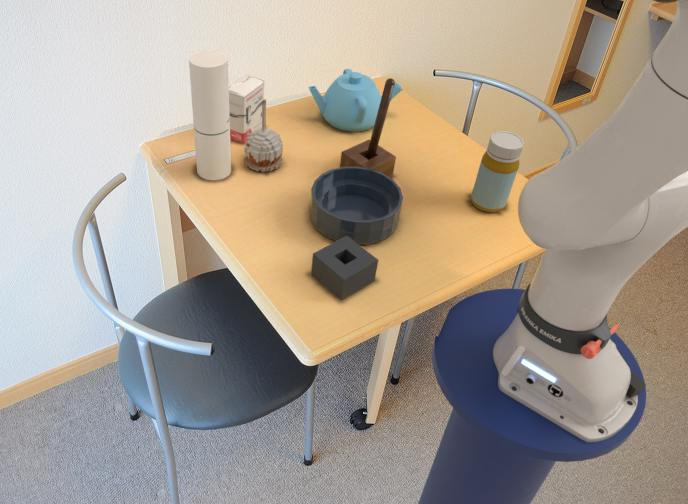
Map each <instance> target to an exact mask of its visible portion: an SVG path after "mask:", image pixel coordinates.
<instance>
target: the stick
mask: <svg viewBox="0 0 688 504" xmlns="http://www.w3.org/2000/svg"><path fill="white" fill-rule="evenodd" d="M395 82H396V81H395V80H394V78H391V77H389V78H387V79H386V80H385V83H384V86H383V90H382V94H381V96H382V97H381V101H380V105H379V109H378V113H377V116H376V120H375V124H374V126H373V127H372V132H371V136H370V139H369V140H370V143H369V147H368V151H367V154H366V158H367V159H368V160H369V159H371V158H373V157H375V154H376V151H377V147H378V145H379V144H380V140H381V136H382V133H383V130H384V125H385V122H386V118H387V114H388V111H389V108H390V103H391V101H392V100H391V96H392V93H393V89H394V85H395ZM390 100H391V101H390Z"/></svg>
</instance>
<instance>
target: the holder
mask: <svg viewBox="0 0 688 504" xmlns="http://www.w3.org/2000/svg"><path fill="white" fill-rule="evenodd" d="M369 143H370V139H367V140H365V141H363V142H360V143H358V144H356V145H354V146H351V147H349V148H347V149H344V150H342V151H341V152H340V153H341V154H340V161H339V162H340V164H339V168H340V167H364V168H369V169H373V170H376V171H378V172H381V173H384V174H385V175H387V176H388V177H390V178H392V177H393V176H394V171H395V166H396V165H395V164H396V159H397V156H396V155H394V154H393V153H391V152H389V151H388V150H387V149H385V148H383V147H382V146H380V145H379V144H378V147H377V151H376V154H375V157H373V158H371V159H369V160H368V159H367V158H366V154H367V151H368V147H369Z"/></svg>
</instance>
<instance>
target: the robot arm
mask: <svg viewBox="0 0 688 504" xmlns="http://www.w3.org/2000/svg"><path fill="white" fill-rule="evenodd" d="M652 1H653V2H656V3H662V4H668V3H669V4H671V3H675V2H676V10H675V11H676V12H675V14H674V15H675V16H674V18H673V20H672V23H671V24H670V26H669V28H668V30H667V32H666V33H665V35H664V36H663V37H662V39H661V41H660V42H659V44H658V45H657V47H656V49H655V50H654V51H653V53H652V55H651V56H650V58H649V59H648V61H647V62H646V64H645V66H644V67H643V69H642V70H641V72H640V74H639V75H638V77H637V78H636V80H635V81H634V83H633V85H632V86H631V87H630V89H629V90H628V92H627V94H626V95H625V96H624V98H623V100H622V101H621V102H620V103H619V105H618V106H617V107H616V108H615V110H614V111H613V112H612V113H611V114H610V115H609V117H607V119H605V120H604V121H603V122H602V124H600V126H599V127H598V128H596V129H595V130H594V131H593V132H592V133H591V134H589V136H588V137H586V138H585V139H584V140H583V141H582V142H580V143H579V145H577V146H576V147H575V148H574V149H572V150H571V152H569V153H568V154H567V155H565V156H564V157H563V158H561V159H560V160H559V161H557V162H555V163H553V165H551V166H549V167H547V168H546V169H544V170H542V171H540V172H538V173H537V174H534V175H533V176H531V177H530V178H529V179H527V181H526V182H525V184H524V185H523V187H522V189H521V190H520V191H521V192H520V194H519V197H518V203H517V216H518V220H519V221H518V222H519V223H520V226H521V228H522V230H523V233H524V234H525V235H526V236H527V238H528V239H529V240H530V241H531V242H532V243H533V244H534V245H536V246H537V247H539V248H541V249H544V250H545V251H544V252H543V254H542V256H541V258H540V262H539V264H538V266H537V269H536V271H535V274H534V276H533V278H532V281H531V283H529V284H528V285H527V286H526V287H525V289H524V290H525V291H524V293H523V295H522V297H521V299H520V302H519V306H518V309H517V312H518V313H517V315H516V317H515V319H514V320H513V322H512V323H511V325H510V326H509V327H508V329H507V330H506V331H505V332H504V333H503V334H502V335H501V336H500V337H499V338H498V339H497V341H496V343H495V345H494V348H493V358H494V362H495V365H496V367H497V370H498V374H499V376H498V387H499V389H500V390H501V391H502V392H503V393H505V394H506V395H508V396H510V397H511V398H513V399H515V400H516V401H518V402H520V403H521V404H523V405H525V406H526V407H528V408H530V409H531V410H533V411H535V412H536V413H538V414H540V415H541V416H543V417H545V418H546V419H548V420H550V421H551V422H553V423H555V424H556V425H558V426H560V427H561V428H563V429H565V430H566V431H568V432H570V433H571V434H573V435H575V436H576V437H578V438H580V439H582V440H583V441H585V442H598V441H602V440H605V439H608V438H609V437H611V436H613V435H614V434H616V433H617V432H618V431H620V430H621V429H622V428H623V427H624V426H625V425H626V424H627V423H628V421H629V420H630V419H631V417H632V415H633V413H634V411H635V409H636V407H637V402H638V396H637V395H639V394H640V393H641V392H642V390H643V389H644V387H646V386H647V384H646V382H645V383H644V382H643V381H642V380H641V379H639V378H638V377H637V376H636V375H635V374H634V373H633V372H632V371H631V370H630V368H629V367H628V365H627V364H626V362H625V361H624V359H623V358H622V356H621V355H620V353H619V352H618V350H617V349H616V345H615V344H614V343H613V342H612V341H611V340H610V337H611V335H612V334H613V333H614V332H615V333H616V331H617V329H618V327H619V325H620V324H619V323H616V324H615V325H614V326H612V327H610V326H609V324H608V312H609V311H610V309H611V307H612V305H613V303H614V302H615V300H616V299H617V297H618V295H619V294H620V292H621V290H622V288H623V287H624V286H625V284H626V283H627V282H628V281H629V280H630V279H631V277H632V276H633V275H634V274H635V273H636V272H638V270H640V268H642V267H643V266H644V264H646V262H648V261H649V260H650V259H651V258H652V257H653V256H654V255H655V254H656V253H657V252H658V251H659V250H661V248H662V247H664V246H665V245H666V244H667V243H668V242H669V241H671V240H672V239H673V238H674V237H675V236H677V235H678V234H680V233H681V232H682V231H684V230H685V229H687V228H688V0H652ZM609 328H611V329H609ZM512 389H514V390H515V391H514V390H512ZM628 404H630V405H628ZM599 431H600V432H601V433H600V432H599Z"/></svg>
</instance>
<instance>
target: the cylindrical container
mask: <svg viewBox="0 0 688 504" xmlns="http://www.w3.org/2000/svg"><path fill="white" fill-rule="evenodd" d="M188 56H189V57H188V64H189V65H188V66H189V67H188V68H189V80H190V95H191V106H192V107H191V109H192V122H193V134H194V135H193V136H194V148H195V162H196V164H195V165H196V172H197V175H198V176H199V177H200V178H202V179H204V180H207V181H220V180H224V179H226V178H227V177H229V175H231V173H232V153H231V152H232V151H231V150H232V149H231V146H232V145H231V138H230V113H229V87H230V83H229V82H230V81H229V80H230V79H229V57H228V55H227V54H226V53H225V52H223V51H220V50H217V49H211V48H208V49H207V48H206V49H199V50H197V51H194V52H192V53H191V54H190V55H188Z"/></svg>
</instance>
